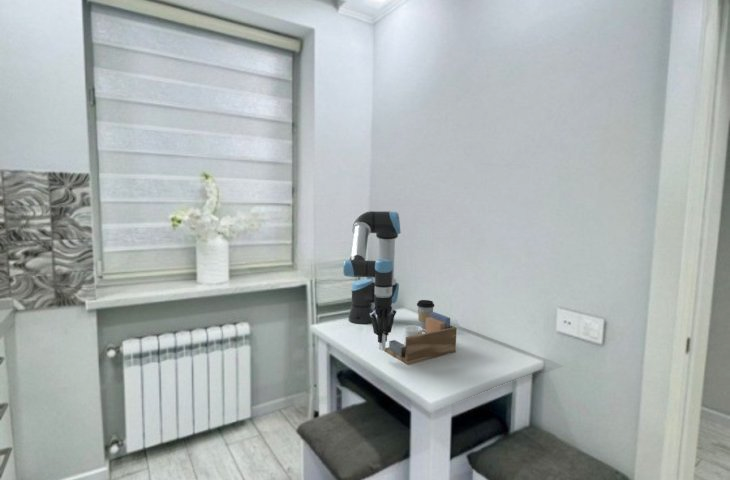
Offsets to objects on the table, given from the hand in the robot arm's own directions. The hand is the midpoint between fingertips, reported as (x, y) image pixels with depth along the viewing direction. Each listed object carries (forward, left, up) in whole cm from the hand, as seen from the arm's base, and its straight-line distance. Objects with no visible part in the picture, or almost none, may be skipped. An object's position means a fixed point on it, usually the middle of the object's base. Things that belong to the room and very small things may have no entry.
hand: (382, 349), depth 168 cm
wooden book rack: (+1, +21, -5) cm, 21 cm away
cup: (+1, +18, -4) cm, 19 cm away
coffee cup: (-23, +44, -5) cm, 50 cm away
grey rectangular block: (0, +9, -3) cm, 9 cm away
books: (+1, +31, -3) cm, 31 cm away
